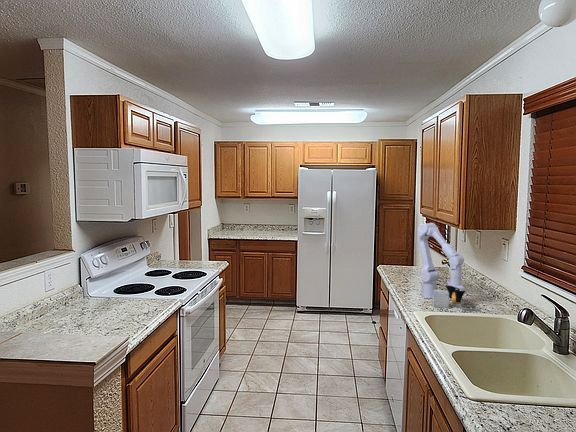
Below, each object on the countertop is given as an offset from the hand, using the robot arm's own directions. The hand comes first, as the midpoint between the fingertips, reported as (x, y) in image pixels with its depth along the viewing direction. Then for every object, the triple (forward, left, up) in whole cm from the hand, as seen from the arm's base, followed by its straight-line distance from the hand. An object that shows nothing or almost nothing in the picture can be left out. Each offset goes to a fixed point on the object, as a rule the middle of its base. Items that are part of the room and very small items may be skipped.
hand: (454, 300), depth 219 cm
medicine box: (+6, -10, -2) cm, 12 cm away
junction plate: (+8, +4, -2) cm, 9 cm away
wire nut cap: (0, 0, -2) cm, 2 cm away
